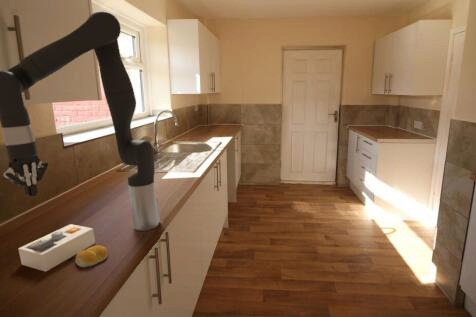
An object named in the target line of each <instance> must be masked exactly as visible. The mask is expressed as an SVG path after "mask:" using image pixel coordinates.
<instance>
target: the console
mask: <svg viewBox="0 0 476 317" xmlns="http://www.w3.org/2000/svg"><path fill="white" fill-rule="evenodd" d="M72 228H78V231H77V232H75V233H73V234H69V233H68V232H67V231H68V230H69V229H72ZM58 231H62V232H63V237H64V238H63V239H61V240H59V241H57V242H55V241H54V243H52V244H50V245H48V246H46V247H44V248H42V249H38V250H32V249H28V247H30V246H32V245H34V244H36V243H38V242H41V241H46V240H50V239H52V236H51V234H52V233H55V232H58ZM95 244H96V238H95V232H94V228H92V227H87V226H82V225H78V224H77V225H76V224H71V223H70V224H68V225H65V226H64V227H61V228H60V229H57V230H55V231H53V232H51V233H49V234H47V235H45V236H43V237H39V238H38V239H36V240H34V241H31V242H29V243H27V244H24V245H22V246H20V247H18V248H17V249H18V253H19V258H20V263H21V265H22V266H25V267H29V268H31V269H36V270H39V271H43V272H47V271H50V270H51V269H53V268H55V267H56V266H58V265H60V264H61V263H64V262H65V261H67V260H68V259H70V258H72V257H74V256H76V255H77V254H78V253H79V252H80V251H83V250H87V249H88V248H90V247H92V246H94V245H95Z"/></svg>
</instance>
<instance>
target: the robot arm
mask: <svg viewBox="0 0 476 317" xmlns="http://www.w3.org/2000/svg"><path fill="white" fill-rule="evenodd" d="M121 29H122V28H121V24H120V21H119V20H118V18H116V16H115V15H114V14H112V13H110V12H109V11H104V10H99V11H95V12H93V13H92V14H90V15H89V16H88V18H87V20H86V21H85V22H83V23H82V24H81V25H80V26H79V27H78V28H77V27H76V29H74V30H73V31H71V32H70V33H68V34H66V35H65V36H63V37H61V38H59V39H57V40H55V41H53V42H50V43H49V44H47V45H44V46H42V47H41V48H39V49H37V50H35V51H33V52H32V53H30V54H28V55H27V56H25V57H24V58H22V59H21V60H20V62H19V63H17V64H16V65H14V66H13V67H11V68H8V69H6V70H0V126H1V130H2V131H1V132H2V138H3V142H4V148H5V152H6V155H7V160H8V161H9V162H8V168H7V169H6V170H5V171H4V172H2V173H1V176H2V177H4V178H5V179H6V180H8V181H10V182H11V183H13V184H14V185H15V186H21V187H23V189H24V193H25V195H26V196H27V197H28V198H34V197H37V196H38V193H39V192H38V187H37V183H39V181H42V179H43V177H44V176H45V173H46V171H47V168H48V167H49V163H48V162H44V161H41V159H40V157H39V156H38V155H39V152H38V148H37V142H36V137H35V134H34V130H33V128H32V125H31V120H30V119H31V118H30V116H29V112H28V109H27V107H26V106H25V104H24V99H23V94H22V93H24V92H26V91H27V90H28V89H30V88H31V87H33V86H35V84H36V83H38V82H40V81H42V80H44V79H46V78H47V77H49V76H51V75H53V74H54V73H56V72H57V71H60V70H61V69H63V68H64V67H65V66H67V65H69V63H71V62H73V61H74V60H76V59H77V58H79V57H81V56H83V55H84V54H86V53H88V52H89V51H90V52H91V51H92V50H93V51H94V53H95V57H96V59H97V63H98V66H99V67H98V68H99V74H100V79H101V84H102V88H103V92H104V96H105V100H106V104H107V107H108V110H109V113H110V118H111V121H112V125H113V129H114V134H115V139H116V145H117V153H118V156H119V159H120V160H121V162H122V164H124V165H127V166H137V172H136V173H133V174H131V175H129V176H128V177H127V184H128V185H127V186H128V192H129V200H130V201H129V202H130V207H131V215H132V223H133V229H134V230H135V231H139V232H143V231H144V232H145V231H150V230H153V229H155V228H157V227H158V226H159V224H160V223H161V217H160V208H159V207H160V206H159V200H158V198H157V197H156V195H157V194H156V186H155V172H156V171H155V156H154V155H155V154H154V149H153V148H154V147H153V144H152V143H151V142H150V141H149V140H140V139H139V140H138V139H134V138H133V134H132V129H131V125H132V120H133V117H134V116H135V112H136V108H137V100H136V95H135V91H134V86H133V84H132V81H131V78H130V76H129V74H128V73H129V72H127V69H126V67H125V65H124V63H123V60H122V56H121V53H120V52H121V51H120V48H119V43H118V42H119V41H118V38H119V37H120V34H121ZM16 175H18V177H17V176H16Z"/></svg>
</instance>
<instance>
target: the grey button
mask: <svg viewBox="0 0 476 317" xmlns="http://www.w3.org/2000/svg"><path fill="white" fill-rule="evenodd" d="M54 232H55V231H54ZM51 233H52V234H51V236H52V239H53V240H54V241H55V242H57V241H59V240H61V239H63V238H64V237H63V232H62V231H58V232H55V233H53V232H51Z"/></svg>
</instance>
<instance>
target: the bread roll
mask: <svg viewBox="0 0 476 317" xmlns="http://www.w3.org/2000/svg"><path fill="white" fill-rule="evenodd" d="M107 256H108V250H107V248H106V247H105V246H103V245H100V244H99V245H98V244H97V245H92V246H90V247H88V248H86V249H84V250H83V251H80V252H79V253H77V254H76V255H75V259H74V260H75V265H77V266H79V267H80V268H87V267H88V268H89V267H91V266H94V265H97V264H98V263H100V262H101V263H102V262H103V261H105V259H106V258H107Z"/></svg>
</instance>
